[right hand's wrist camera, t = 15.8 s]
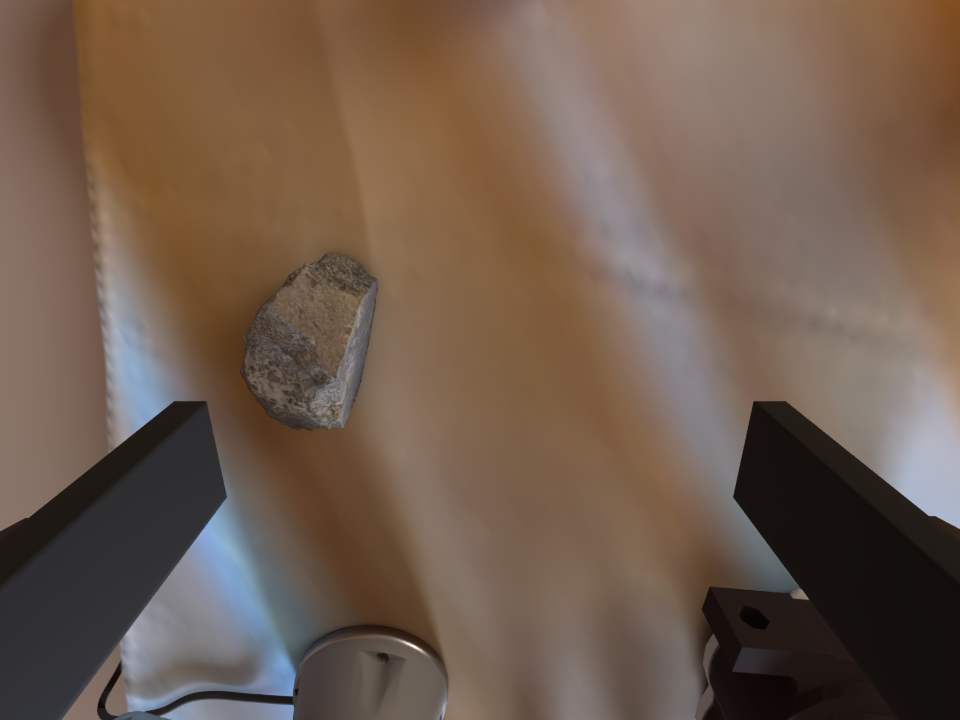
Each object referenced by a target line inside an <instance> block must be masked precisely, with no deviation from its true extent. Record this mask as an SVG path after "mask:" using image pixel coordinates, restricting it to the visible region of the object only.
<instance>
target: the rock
mask: <svg viewBox="0 0 960 720" xmlns="http://www.w3.org/2000/svg"><path fill="white" fill-rule="evenodd" d="M377 290H378V288H377V280H376V279H375V278H374V277H372V276H370V275H368V274H367V272H366V271H365V269H364V267H363V266H362V265H361V264H359V263H357V262H355V261H353V260H352V259H350V258H349V257H347V256H338V254H333V253H330V252H328V253H326V254H325V256H324V257H323V258H322V259H321V260H320V261H319V262H316V263H313V264H311V265H308V264H307V263H305V264H304V265H303V267H302V268H299V269H298V270H297V271H294V272H293V273H292V274H290V275H289V276H288V278H287V280H286V281H285V283H284V285H283V286H282V288H280V289H279V290H278V291H277V293H275V294H274V295H273V296H272V297H271V298H270V299H269V300H268V301H267V302H266V303H264V304H263V305H262V306H261V307H260V309H259V310H258V312H257V314H256V317H255V320H254V322H253V324H252V325H251V326H250V328H249V329H248V331H247V332H246V334H245V335H244V336H243V339H244V340H245V342H246V343H247V344H246V349H245V357H244V363H243V365H242V367H241V372H240V373H241V375H242V378H244V379H245V382H246V384H247V387H248V389H249V390H250V391H251V392H252V394H253V395H254V397H255V398H256V400H257V401H258V403H259V404H260V405H261V406H262V407H263V408H264V409H265V411H266V413H267V414H268V415H269V416H270V417H272V418H274V419H276V420H279V421H280V422H281V424H283V425H287V426H289V427H291V429H295V430H298V429H301V428H305V429H308V430H310V431H312V430H313V429H314V428H318V427H321V428H323V429H327V430H329V429H331V428H338V427H339V428H342V429H343V428H344V425H345V422H346V420H347V419H348V418H349V415H350V411H351V408H352V404H353V402H355V399H354V397H355V396H357V395H356V394H357V392H358V388H359V386H360V383H361V381H362V380H361V377H362V376H361V375H362V374H363V373H362V371H363V367H364V360H365V356H366V354H367V351H366V350H367V348H368V345H369V344H368V343H369V337H370V332H371V328H372V319H373V316H374V314H373V313H374V309H375V302H376V293H377ZM335 377H336V379H335ZM346 423H347V422H346Z"/></svg>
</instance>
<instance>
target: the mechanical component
mask: <svg viewBox="0 0 960 720" xmlns="http://www.w3.org/2000/svg"><path fill="white" fill-rule="evenodd" d="M702 611H703V613H704V615H705V617H706V619H707V621H708V623H709V625H710V627H711V629H712V631H713V635H712V636H711V638H710V640H709V641H708V643H707V644H706V647H705V653H704V659H703V666H704V669H705V673H706V676H707V680H708V683H709V686H708V687H707V689H706V691H705V692H704V694H703V695H702V697H701V698H700V700H699V702H698V705H697V710H696V715H695V719H696V720H898V718H897V717H896V716H895V714H894V713H893V712H892V710H891V709H890V708H889V706H888V705H887V704H886V702H885V701H884V700H883V698H882V697H881V696H880V694H879V693H878V691H877V690H876V689H875V687H874V686H873V685H872V683H871V682H870V681H869V679H868V678H867V677H866V675H865V674H864V673H863V671H862V670H861V669H860V667H859V666H858V665H857V663H856V662H855V661H854V659H853V658H852V657H851V655H850V654H849V652H848V651H847V650H846V648H845V647H844V646H843V644H842V643H841V642H840V640H839V639H838V638H837V636H836V635H835V634H834V632H833V631H832V630H831V628H830V627H829V626H828V624H827V623H826V622H825V620H824V619H823V617H822V616H821V615H820V613H819V612H818V611H817V609H816V608H815V607H814V605H813V604H812V603H811V601H810V600H809V599H808V597H807V596H806V595H805V593H804V592H803V591H802V590H801V589H796V590H793V591H791V592H790V594H786V593H775V592H764V591H753V590H742V589H730V588H719V587H710V588H709V590H708V593H707V596H706V599H705V602H704V604H703V607H702Z"/></svg>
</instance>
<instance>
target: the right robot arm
mask: <svg viewBox="0 0 960 720" xmlns="http://www.w3.org/2000/svg"><path fill="white" fill-rule="evenodd" d="M226 498H227V496H226V491H225V486H224V482H223V477H222V472H221V468H220V463H219V458H218V454H217V449H216V444H215V440H214V435H213V430H212V426H211V421H210V416H209V412H208V407H207V402H206V401H174V402H173V403H172V404H170V405H169V406H168V407H167V408H165V409H164V410H163V411H162V412H160V413H159V414H158V415H157V416H155V417H154V418H153V419H152V420H150V421H149V422H148V423H147V424H145V425H144V426H143V427H142V428H140V429H139V430H138V431H137V432H135V433H134V434H133V435H132V436H130V437H129V438H128V439H127V440H125V441H124V442H123V443H122V444H120V445H119V446H118V447H117V448H115V449H114V450H113V451H112V452H110V453H109V454H108V455H107V456H106V457H104V458H103V459H102V460H101V461H99V462H98V463H97V464H96V465H94V466H93V467H92V468H91V469H89V470H88V471H87V472H86V473H84V474H83V475H82V476H81V477H79V478H78V479H77V480H76V481H74V482H73V483H72V484H71V485H69V486H68V487H67V488H66V489H64V490H63V491H62V492H61V493H59V494H58V495H57V496H56V497H54V498H53V499H52V500H51V501H49V502H48V503H47V504H46V505H44V506H43V507H42V508H41V509H39V510H38V511H37V512H36V513H34V514H33V515H32V516H31V517H29V518H25V519H23V520H21V521H19V522H17V523H15V524H13V525H11V526H10V527H8V528H6V529H4V530H2V531H0V720H62V718H63V717H64V716H65V714H66V713H67V712H68V710H69V709H70V708H71V706H72V705H73V704H74V702H75V701H76V700H77V698H78V697H79V696H80V694H81V693H82V691H83V690H84V689H85V687H86V686H87V685H88V683H89V682H90V681H91V679H92V678H93V677H94V675H95V674H96V673H97V671H98V670H99V669H100V667H101V666H102V664H103V663H104V662H105V661H106V659H107V658H108V657H109V655H110V654H111V652H112V651H113V650H114V648H115V647H116V646H117V644H118V643H119V642H120V640H121V639H122V638H123V636H124V635H125V634H126V632H127V631H128V630H129V628H130V627H131V626H132V624H133V623H134V622H135V620H136V619H137V617H138V616H139V615H140V613H141V612H142V611H143V609H144V608H145V607H146V605H147V604H148V603H149V601H150V600H151V599H152V597H153V596H154V595H155V593H156V592H157V591H158V589H159V588H160V587H161V585H162V584H163V582H164V581H165V580H166V578H167V577H168V576H169V574H170V573H171V572H172V570H173V569H174V568H175V566H176V565H177V564H178V562H179V561H180V560H181V558H182V557H183V556H184V554H185V553H186V552H187V550H188V549H189V547H190V546H191V545H192V543H193V542H194V541H195V539H196V538H197V537H198V535H199V534H200V533H201V531H202V530H203V529H204V527H205V526H206V525H207V523H208V522H209V521H210V519H211V518H212V517H213V515H214V514H215V513H216V511H217V510H218V508H219V507H220V506H221V504H222V503H223V502H224V500H225V499H226ZM733 498H734V499H735V500H736V502H737V503H738V504H739V506H740V507H741V508H742V510H743V511H744V513H745V514H746V515H747V517H748V518H749V519H750V521H751V522H752V523H753V525H754V526H755V527H756V529H757V530H758V531H759V533H760V534H761V535H762V537H763V538H764V539H765V541H766V542H767V543H768V545H769V546H770V548H771V549H772V550H773V552H774V553H775V554H776V556H777V557H778V558H779V560H780V561H781V562H782V564H783V565H784V566H785V568H786V569H787V570H788V572H789V573H790V574H791V576H792V577H793V578H794V580H795V581H796V582H797V584H798V585H799V587H800V588H801V589H802V591H803V592H804V593H805V595H806V596H807V597H808V599H809V600H810V601H811V603H812V604H813V605H814V607H815V608H816V609H817V611H818V612H819V613H820V615H821V616H822V617H823V619H824V620H825V622H826V623H827V624H828V626H829V627H830V628H831V630H832V631H833V632H834V634H835V635H836V636H837V638H838V639H839V640H840V642H841V643H842V644H843V646H844V647H845V648H846V650H847V651H848V652H849V654H850V655H851V657H852V658H853V659H854V661H855V662H856V663H857V665H858V666H859V667H860V669H861V670H862V671H863V673H864V674H865V675H866V677H867V678H868V679H869V681H870V682H871V683H872V685H873V686H874V687H875V689H876V690H877V691H878V693H879V694H880V696H881V697H882V698H883V700H884V701H885V702H886V704H887V705H888V706H889V708H890V709H891V710H892V712H893V713H894V714H895V716H896V717H897V718H898V720H960V529H958V528H957V527H955V526H953V525H951V524H949V523H947V522H945V521H943V520H941V519H940V518H938V517H936V516H928V515H927V514H926V513H924V512H923V511H922V510H921V509H919V508H918V507H917V506H916V505H914V504H913V503H912V502H911V501H909V500H908V499H907V498H906V497H904V496H903V495H902V494H901V493H899V492H898V491H897V490H896V489H894V488H893V487H892V486H891V485H889V484H888V483H887V482H886V481H884V480H883V479H882V478H881V477H879V476H878V475H877V474H876V473H874V472H873V471H872V470H871V469H869V468H868V467H867V466H866V465H864V464H863V463H862V462H861V461H859V460H858V459H857V458H856V457H854V456H853V455H852V454H851V453H850V452H848V451H847V450H846V449H845V448H843V447H842V446H841V445H840V444H838V443H837V442H836V441H835V440H833V439H832V438H831V437H830V436H828V435H827V434H826V433H825V432H823V431H822V430H821V429H820V428H818V427H817V426H816V425H815V424H813V423H812V422H811V421H810V420H808V419H807V418H806V417H805V416H803V415H802V414H801V413H800V412H798V411H797V410H796V409H795V408H793V407H792V406H791V405H790V404H788V403H787V402H786V401H754V402H753V407H752V412H751V416H750V421H749V426H748V430H747V435H746V440H745V444H744V449H743V454H742V458H741V463H740V468H739V472H738V477H737V482H736V486H735V491H734V496H733ZM122 671H123V670H122V659H121V661H120V662H119V664H118V666H117V668H116V670H115V672H114V674H113V675H112V677H111V679H110V680H109V682H108V684H107V686H106V687H105V689H104V690H103V692H102V694H101V696H100V699H99V702H98V706H97V712H98V716H99V717H100V719H101V720H170V719H166V718H163V717H159V716H162V715H164V714H167V713H169V712H171V711H173V710H174V709H176V708H178V707H180V706H182V705H184V704H186V703H189V702H192V701H197V700H207V699H219V700H231V701H241V702H255V703H268V704H281V705H294V714H293V720H442V718H443V716H444V713H445V708H446V704H447V698H448V674H447V671H446V668H445V666H444V664H443V662H442V660H441V659H440V657H439V656H438V655H437V653H436V652H435V651H434V650H433V649H432V648H430V647H429V646H428V645H427V644H425V643H424V642H423V641H421V640H419V639H418V638H416V637H414V636H412V635H410V634H407V633H405V632H402V631H399V630H396V629H391V628H386V627H379V626H357V627H350V628H345V629H341V630H338V631H335V632H333V633H330V634H328V635H326V636H324V637H323V638H321V639H319V640H318V641H317V642H315V643H314V644H313V645H312V646H311V647H310V648H309V649H308V650H307V652H306V653H305V655H304V656H303V658H302V661H301V663H300V666H299V669H298V672H297V674H296V678H295V684H294V689H293V696H275V695H262V694H247V693H237V692H226V691H204V692H197V693H192V694H189V695H186V696H184V697H182V698H180V699H178V700H176V701H174V702H173V703H171V704H169V705H167V706H165V707H162V708H159V709H155V710H150V711H146V712H142V711H134V712H128V713H125V714H123V715H121V716H113V715H110V714H109V713H108V712H107V711H106V708H105V704H106V701H107V698H108V696H109V694H110V692H111V690H112V688H113V687H114V685H115V683H116V682H117V680H118V678H119V676H120V675H121V673H122Z"/></svg>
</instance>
